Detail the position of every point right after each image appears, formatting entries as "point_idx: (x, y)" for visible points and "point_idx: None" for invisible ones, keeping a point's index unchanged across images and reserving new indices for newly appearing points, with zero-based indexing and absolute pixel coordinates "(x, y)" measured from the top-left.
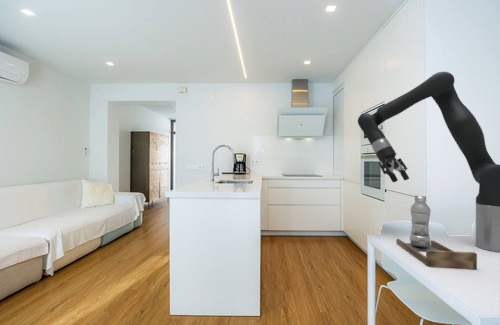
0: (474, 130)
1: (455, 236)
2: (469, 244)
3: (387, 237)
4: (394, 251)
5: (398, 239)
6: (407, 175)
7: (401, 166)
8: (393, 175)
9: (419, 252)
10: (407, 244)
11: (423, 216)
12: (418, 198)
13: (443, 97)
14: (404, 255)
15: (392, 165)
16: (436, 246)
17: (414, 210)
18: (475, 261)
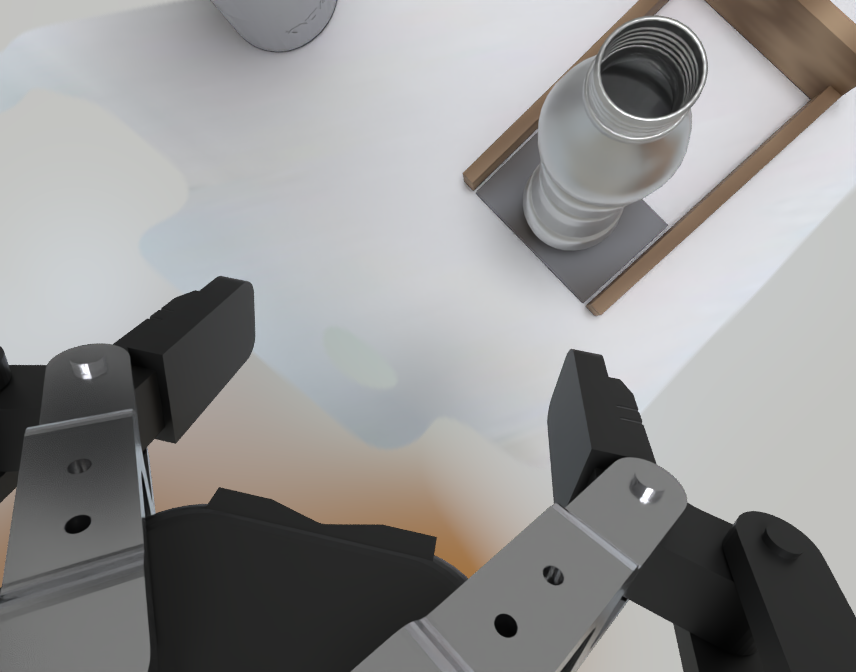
0: None
1: (187, 157)
2: (295, 73)
3: (513, 392)
4: (743, 273)
5: (605, 302)
6: (200, 299)
7: (128, 423)
8: (614, 430)
9: (759, 149)
10: (580, 265)
11: (654, 109)
12: (700, 77)
13: None
14: (764, 219)
15: (557, 593)
16: (511, 151)
17: (685, 152)
18: None
